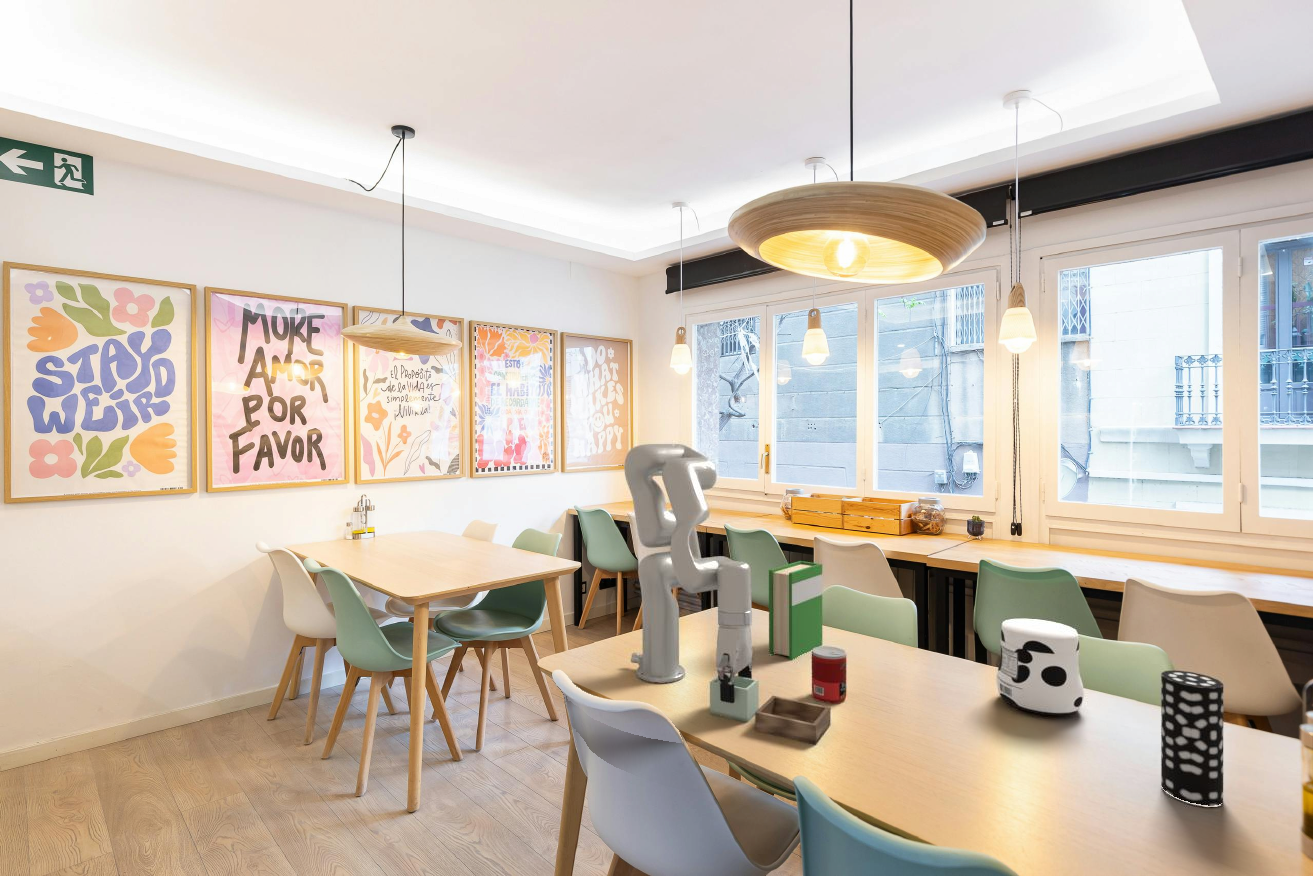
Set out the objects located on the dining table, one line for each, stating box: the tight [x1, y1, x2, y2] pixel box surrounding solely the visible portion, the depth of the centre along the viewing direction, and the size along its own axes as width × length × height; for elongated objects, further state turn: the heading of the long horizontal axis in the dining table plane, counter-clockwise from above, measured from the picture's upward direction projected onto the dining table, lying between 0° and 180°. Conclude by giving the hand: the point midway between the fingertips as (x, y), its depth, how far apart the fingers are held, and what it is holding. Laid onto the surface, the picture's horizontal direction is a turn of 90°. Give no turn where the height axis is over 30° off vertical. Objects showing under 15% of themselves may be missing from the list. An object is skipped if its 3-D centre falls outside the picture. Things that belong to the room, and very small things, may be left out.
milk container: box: [995, 618, 1085, 716], centre depth 152 cm, size 17×17×18 cm
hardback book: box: [768, 560, 823, 661], centre depth 192 cm, size 18×7×24 cm, turn 139°
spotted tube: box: [1160, 669, 1224, 806], centre depth 114 cm, size 8×8×20 cm
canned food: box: [811, 645, 847, 704], centre depth 157 cm, size 8×8×11 cm
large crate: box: [754, 695, 832, 746], centre depth 141 cm, size 13×10×4 cm
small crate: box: [709, 673, 760, 723], centre depth 149 cm, size 9×6×7 cm
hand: (736, 694), depth 148 cm, fingers open, 9 cm apart
